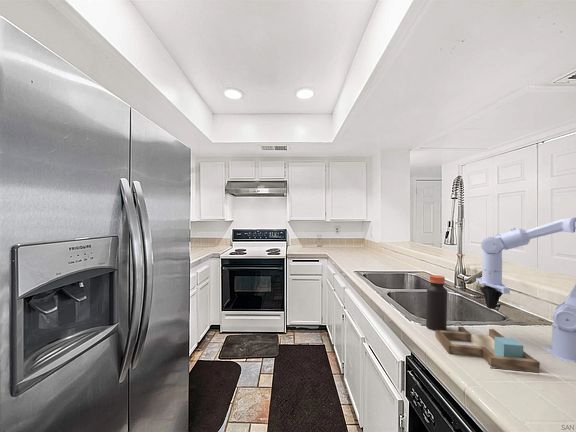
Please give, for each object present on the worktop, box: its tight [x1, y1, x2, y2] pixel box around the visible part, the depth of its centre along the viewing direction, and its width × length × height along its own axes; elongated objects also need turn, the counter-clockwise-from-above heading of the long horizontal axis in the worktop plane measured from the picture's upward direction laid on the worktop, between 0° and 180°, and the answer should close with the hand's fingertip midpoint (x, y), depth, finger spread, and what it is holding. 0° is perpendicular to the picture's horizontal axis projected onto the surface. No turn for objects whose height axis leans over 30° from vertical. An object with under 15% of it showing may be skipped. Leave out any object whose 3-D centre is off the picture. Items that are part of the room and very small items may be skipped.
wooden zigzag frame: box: [434, 326, 541, 374], centre depth 90 cm, size 21×22×3 cm
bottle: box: [425, 274, 448, 332], centre depth 106 cm, size 7×7×20 cm
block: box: [494, 336, 524, 358], centre depth 84 cm, size 5×5×5 cm
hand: (491, 308), depth 101 cm, fingers closed
